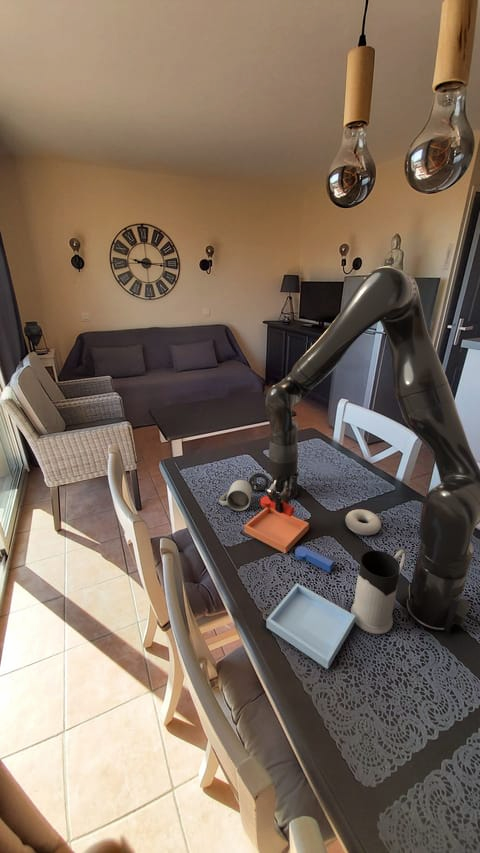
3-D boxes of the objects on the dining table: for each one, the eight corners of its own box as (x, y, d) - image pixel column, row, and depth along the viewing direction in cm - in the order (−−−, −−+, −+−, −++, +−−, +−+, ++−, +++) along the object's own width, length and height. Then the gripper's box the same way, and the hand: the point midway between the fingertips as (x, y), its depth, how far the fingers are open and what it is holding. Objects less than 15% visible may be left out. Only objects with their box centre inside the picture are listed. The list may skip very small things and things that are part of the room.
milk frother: (302, 497, 121) (303, 458, 115) (256, 505, 117) (256, 465, 112) (287, 476, 133) (287, 440, 128) (245, 483, 130) (244, 446, 124)
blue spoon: (334, 565, 93) (335, 559, 92) (328, 574, 90) (328, 568, 89) (299, 548, 99) (300, 542, 98) (292, 556, 96) (292, 549, 95)
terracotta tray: (308, 529, 106) (309, 523, 105) (285, 553, 97) (285, 546, 96) (268, 511, 114) (268, 505, 113) (244, 532, 106) (244, 525, 105)
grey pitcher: (342, 612, 80) (348, 560, 74) (380, 581, 88) (388, 532, 82) (377, 641, 74) (386, 587, 68) (414, 605, 81) (426, 554, 75)
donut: (345, 536, 103) (382, 539, 101) (346, 526, 102) (384, 529, 100) (343, 514, 112) (377, 517, 110) (344, 505, 111) (378, 508, 109)
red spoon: (295, 511, 101) (296, 505, 100) (288, 518, 98) (288, 511, 97) (265, 498, 107) (265, 492, 106) (258, 504, 104) (258, 498, 104)
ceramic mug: (252, 496, 122) (251, 477, 119) (250, 511, 115) (249, 491, 112) (221, 496, 123) (220, 476, 120) (217, 510, 116) (216, 490, 113)
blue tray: (354, 623, 78) (355, 615, 77) (327, 669, 69) (328, 661, 68) (296, 590, 86) (296, 582, 85) (266, 627, 77) (266, 619, 76)
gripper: (280, 470, 88) (279, 527, 95) (308, 449, 97) (305, 502, 104) (255, 461, 92) (256, 516, 99) (285, 442, 102) (284, 493, 109)
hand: (281, 509), depth 102 cm, fingers closed on red spoon, 2 cm apart
